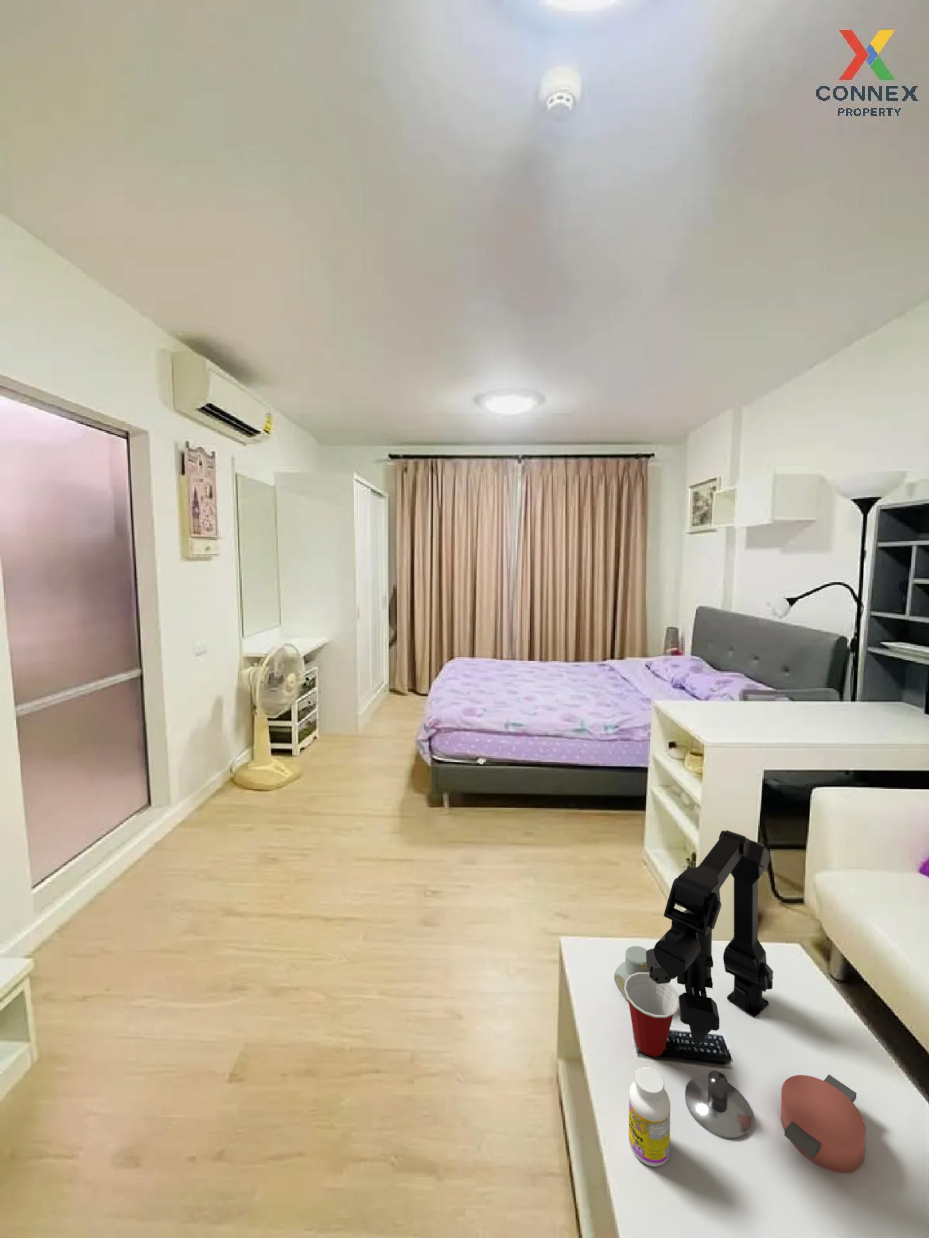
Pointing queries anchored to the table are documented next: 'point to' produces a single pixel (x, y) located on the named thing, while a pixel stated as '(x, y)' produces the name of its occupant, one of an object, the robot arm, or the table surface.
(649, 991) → the plastic cup
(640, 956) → the air freshener
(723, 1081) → the lid
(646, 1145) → the supplement bottle
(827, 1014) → the table surface
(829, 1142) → the pot
